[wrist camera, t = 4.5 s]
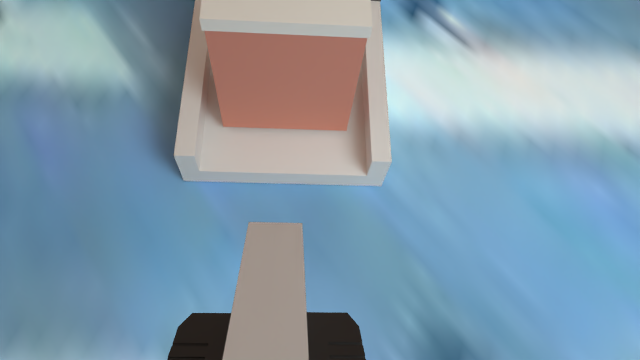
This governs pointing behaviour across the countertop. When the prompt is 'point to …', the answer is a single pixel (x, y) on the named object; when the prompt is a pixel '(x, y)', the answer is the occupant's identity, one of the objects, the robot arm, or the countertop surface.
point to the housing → (283, 130)
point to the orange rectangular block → (286, 60)
